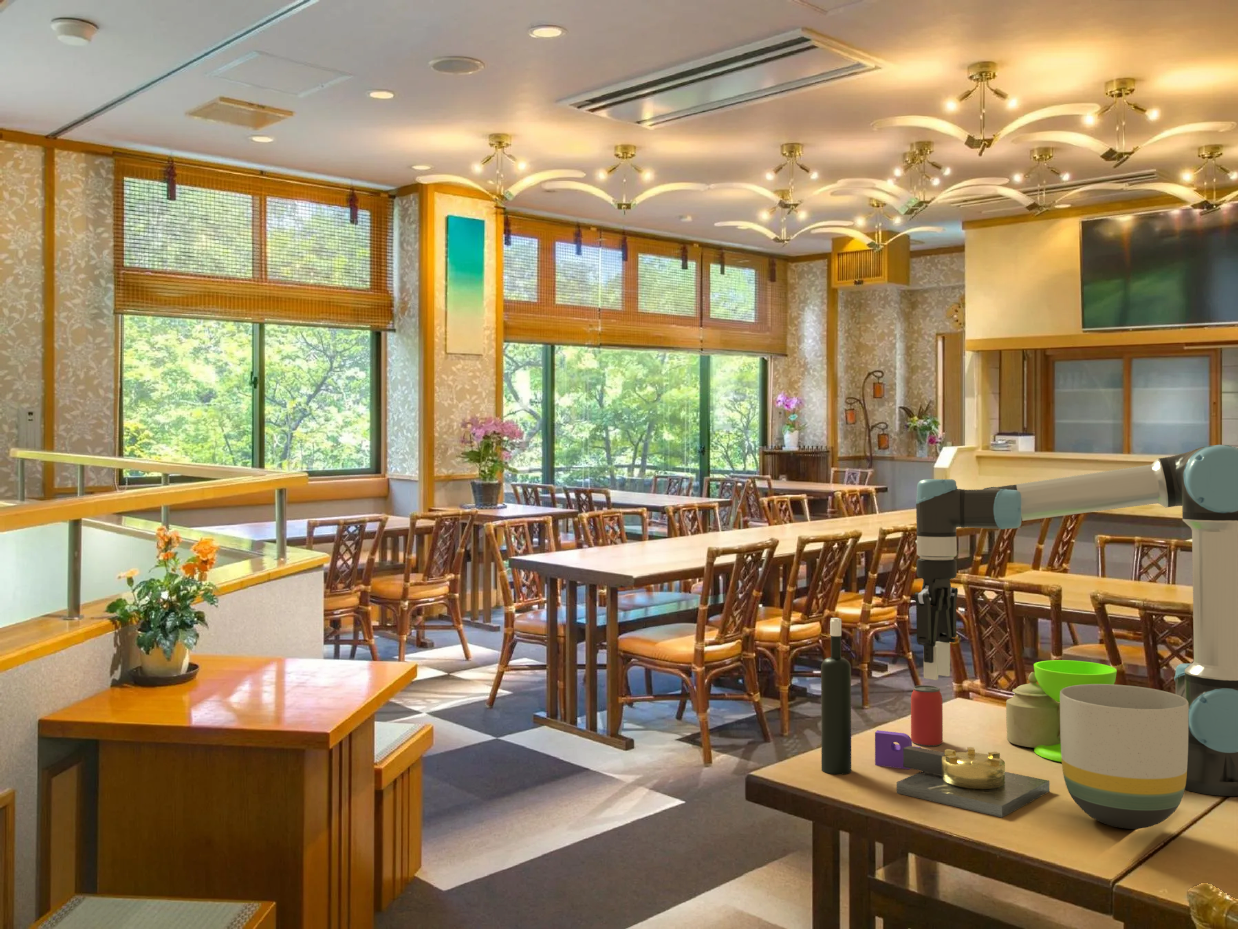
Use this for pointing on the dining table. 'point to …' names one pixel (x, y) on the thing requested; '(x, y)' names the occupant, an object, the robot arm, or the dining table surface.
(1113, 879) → the dining table surface
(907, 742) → the bracket
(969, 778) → the gold tabbed disc
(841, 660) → the wine bottle
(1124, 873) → the dining table surface
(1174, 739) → the planter
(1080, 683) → the wineglass
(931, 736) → the beer can
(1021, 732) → the sugar bowl
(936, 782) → the plate
